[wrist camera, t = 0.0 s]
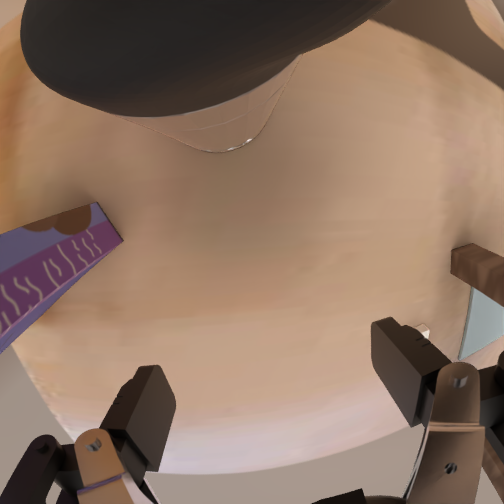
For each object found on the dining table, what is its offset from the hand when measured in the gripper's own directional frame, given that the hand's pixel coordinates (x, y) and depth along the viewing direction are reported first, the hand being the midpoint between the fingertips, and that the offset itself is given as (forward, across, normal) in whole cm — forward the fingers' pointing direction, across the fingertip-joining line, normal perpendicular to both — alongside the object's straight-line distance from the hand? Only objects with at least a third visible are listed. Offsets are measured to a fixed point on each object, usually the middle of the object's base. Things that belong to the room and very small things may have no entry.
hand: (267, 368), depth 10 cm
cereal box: (+17, +21, -4) cm, 27 cm away
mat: (+18, -34, +16) cm, 42 cm away
